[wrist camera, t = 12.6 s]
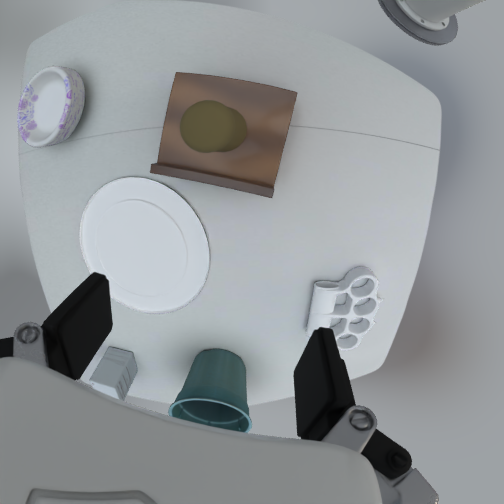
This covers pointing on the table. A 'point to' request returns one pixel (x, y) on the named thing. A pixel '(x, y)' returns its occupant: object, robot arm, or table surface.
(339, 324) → the knuckle duster
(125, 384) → the white packaging box
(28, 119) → the paper bowls
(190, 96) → the brown wooden box
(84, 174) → the table surface
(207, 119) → the olive pawn figure
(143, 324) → the table surface
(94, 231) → the plate
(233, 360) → the flower pot
